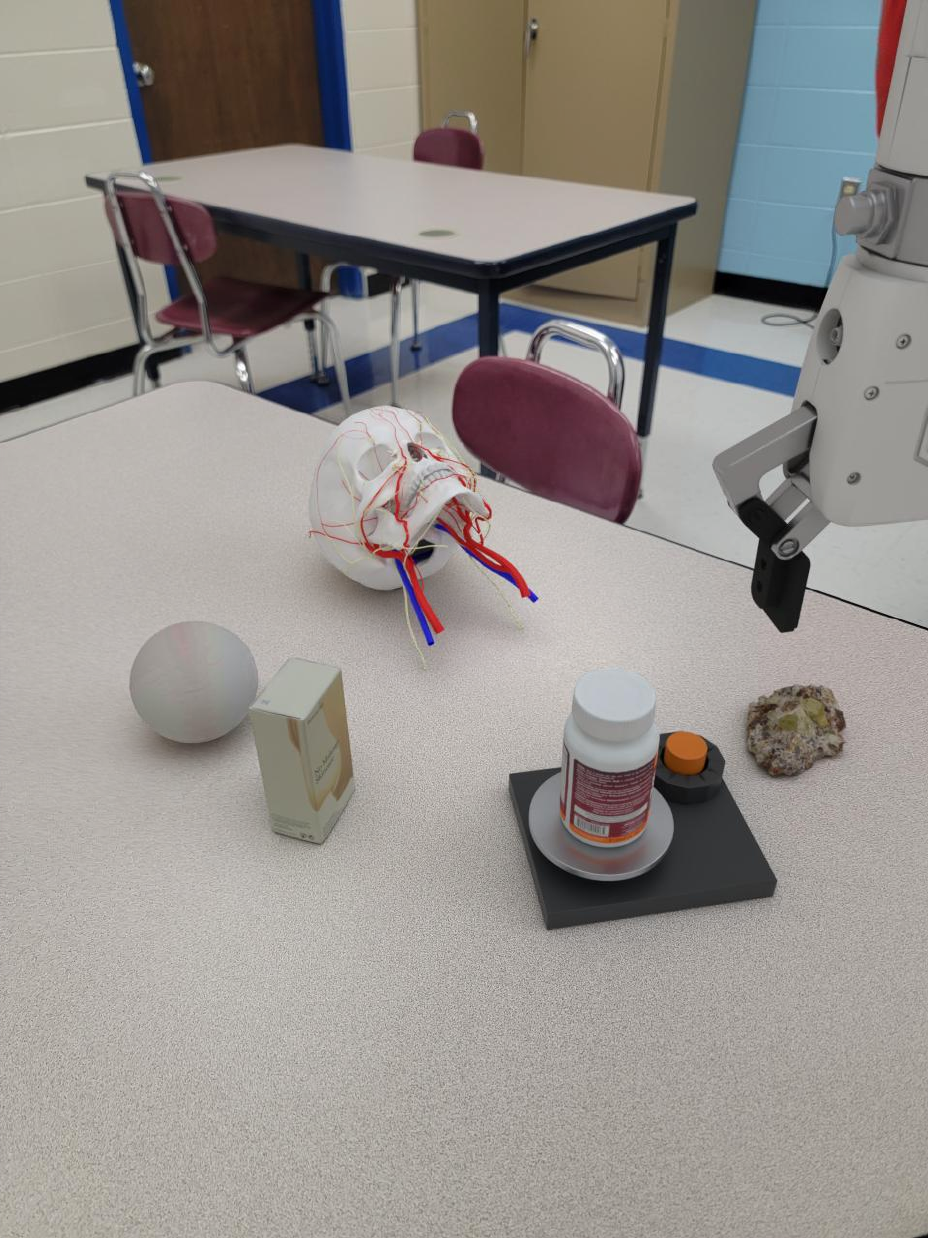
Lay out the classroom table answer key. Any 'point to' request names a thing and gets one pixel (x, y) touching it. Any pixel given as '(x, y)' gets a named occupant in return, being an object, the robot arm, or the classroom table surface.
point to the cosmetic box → (303, 748)
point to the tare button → (685, 753)
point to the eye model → (193, 681)
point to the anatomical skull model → (399, 508)
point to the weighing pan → (592, 858)
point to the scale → (687, 875)
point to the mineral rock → (795, 728)
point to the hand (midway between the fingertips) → (870, 603)
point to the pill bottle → (609, 758)
